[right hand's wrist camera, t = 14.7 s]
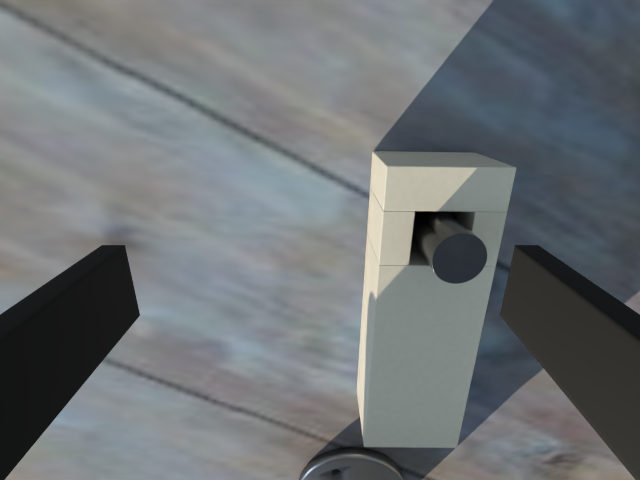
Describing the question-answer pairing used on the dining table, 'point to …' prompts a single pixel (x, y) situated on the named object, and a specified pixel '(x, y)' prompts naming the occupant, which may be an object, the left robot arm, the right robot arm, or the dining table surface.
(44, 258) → the dining table surface
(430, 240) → the peg
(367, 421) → the peg block
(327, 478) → the left robot arm
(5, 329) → the right robot arm
